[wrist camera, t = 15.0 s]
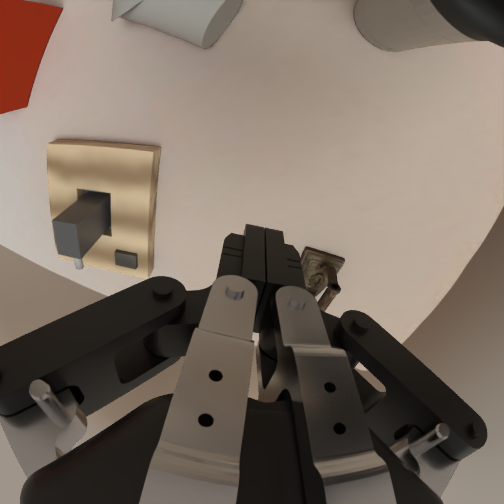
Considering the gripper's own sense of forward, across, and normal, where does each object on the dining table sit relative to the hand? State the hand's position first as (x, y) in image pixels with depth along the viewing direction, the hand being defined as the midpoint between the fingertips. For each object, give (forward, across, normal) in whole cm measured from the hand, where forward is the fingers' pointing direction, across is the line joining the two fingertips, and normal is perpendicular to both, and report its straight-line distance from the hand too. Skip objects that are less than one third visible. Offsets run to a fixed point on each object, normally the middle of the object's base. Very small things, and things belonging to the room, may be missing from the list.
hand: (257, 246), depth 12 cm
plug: (+25, +21, +15) cm, 36 cm away
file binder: (+27, +40, -11) cm, 49 cm away
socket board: (+26, +22, +14) cm, 36 cm away
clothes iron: (+26, -13, +20) cm, 35 cm away
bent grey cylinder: (+27, +15, -21) cm, 37 cm away
